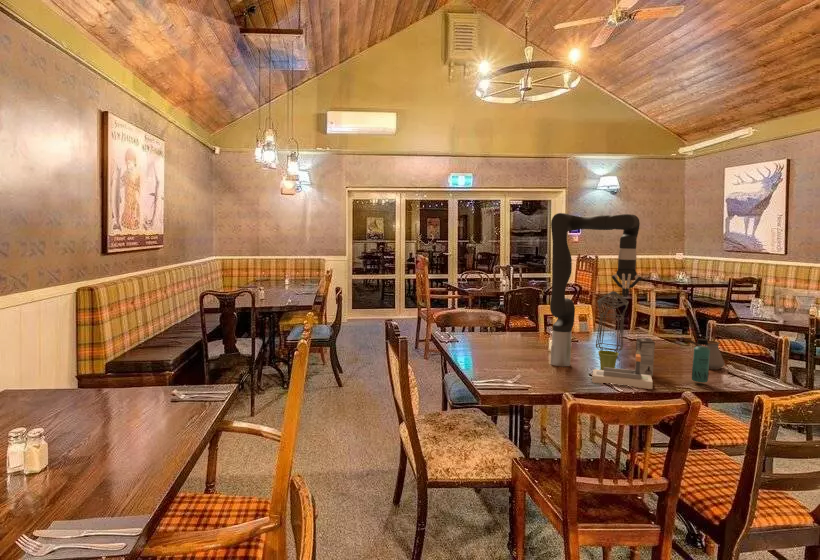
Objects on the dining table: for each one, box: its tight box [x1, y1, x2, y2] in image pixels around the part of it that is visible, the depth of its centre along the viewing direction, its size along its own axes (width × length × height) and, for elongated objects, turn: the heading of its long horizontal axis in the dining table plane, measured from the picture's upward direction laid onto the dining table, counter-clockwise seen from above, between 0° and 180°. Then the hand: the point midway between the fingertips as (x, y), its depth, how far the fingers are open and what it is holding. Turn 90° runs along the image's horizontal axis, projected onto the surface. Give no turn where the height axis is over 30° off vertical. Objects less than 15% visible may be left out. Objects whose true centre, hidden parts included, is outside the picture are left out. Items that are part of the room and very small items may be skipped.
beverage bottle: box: [691, 338, 710, 383], centre depth 223 cm, size 6×7×20 cm
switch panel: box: [591, 367, 653, 390], centre depth 224 cm, size 24×12×5 cm, turn 68°
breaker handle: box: [633, 353, 641, 375], centre depth 222 cm, size 3×6×9 cm, turn 158°
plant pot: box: [597, 350, 620, 370], centre depth 244 cm, size 9×9×9 cm
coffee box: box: [634, 337, 656, 377], centre depth 240 cm, size 9×6×16 cm
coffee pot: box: [679, 336, 726, 370], centre depth 253 cm, size 21×12×15 cm, turn 87°
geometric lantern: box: [595, 291, 630, 353], centre depth 276 cm, size 16×16×35 cm
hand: (625, 296), depth 232 cm, fingers closed
